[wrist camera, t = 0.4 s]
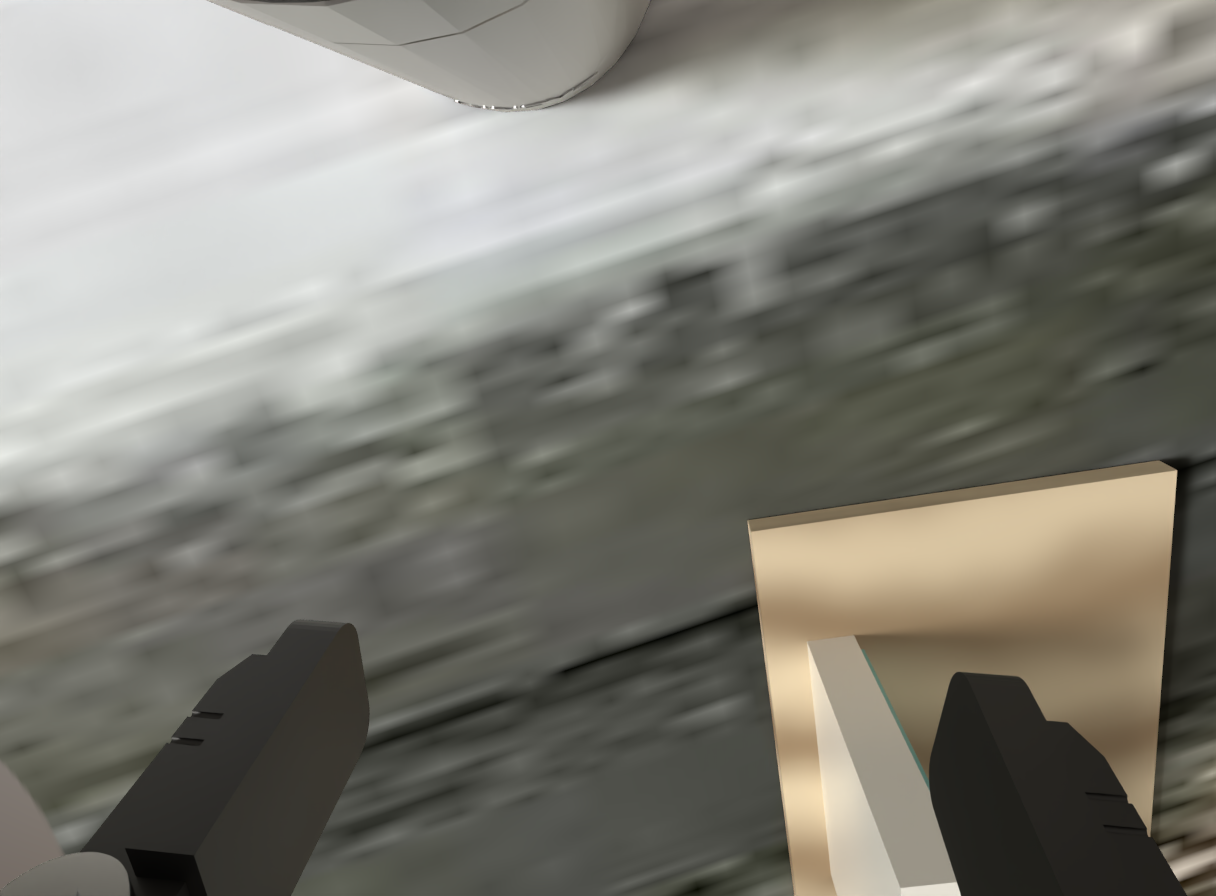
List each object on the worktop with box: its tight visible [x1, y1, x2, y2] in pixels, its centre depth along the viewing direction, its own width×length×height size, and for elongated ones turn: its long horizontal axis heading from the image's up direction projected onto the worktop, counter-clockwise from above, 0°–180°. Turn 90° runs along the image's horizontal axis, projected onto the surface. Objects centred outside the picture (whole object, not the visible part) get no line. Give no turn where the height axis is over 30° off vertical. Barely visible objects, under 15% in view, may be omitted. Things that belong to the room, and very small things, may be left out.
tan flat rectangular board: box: [747, 460, 1177, 896], centre depth 32 cm, size 22×15×1 cm
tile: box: [807, 635, 961, 896], centre depth 27 cm, size 12×2×11 cm, turn 10°
